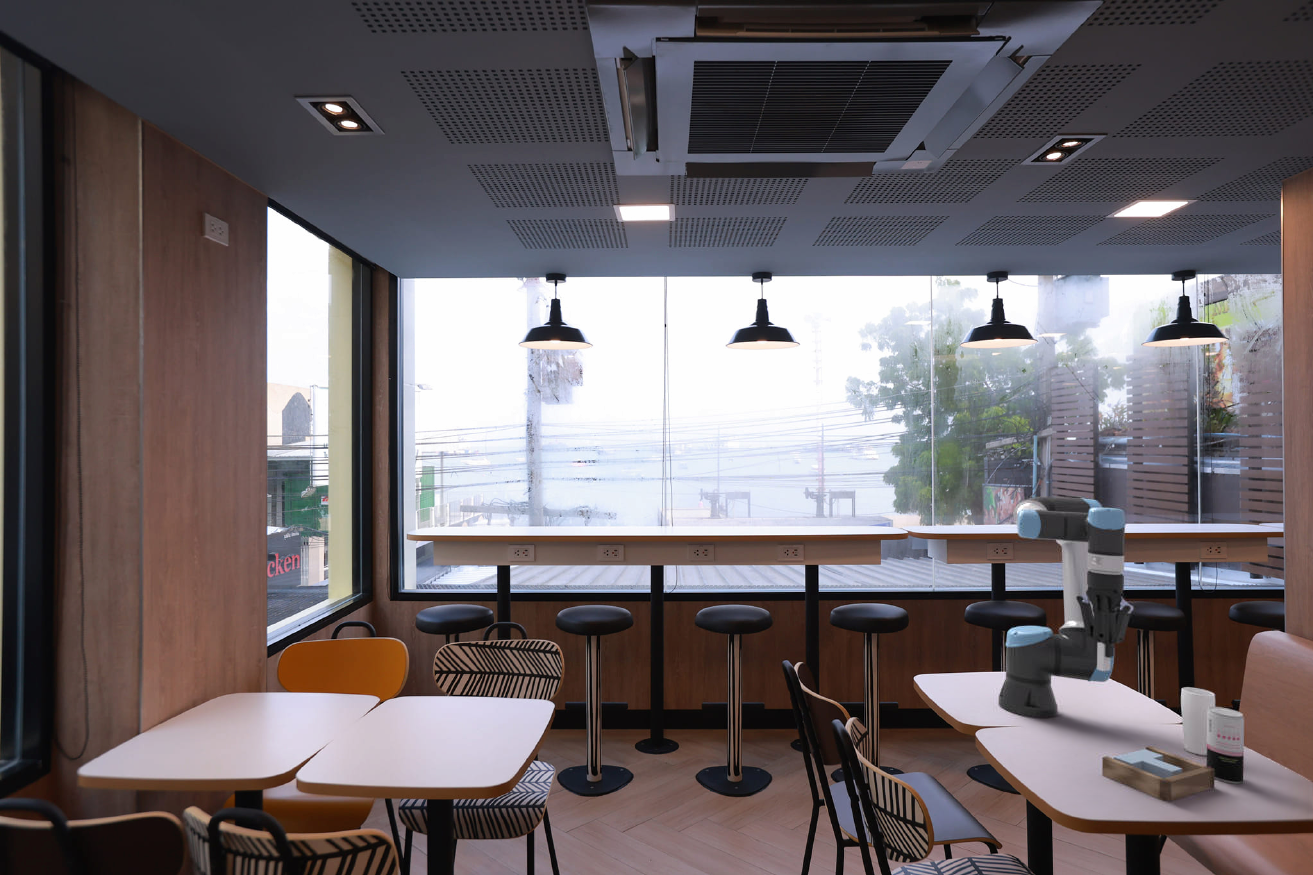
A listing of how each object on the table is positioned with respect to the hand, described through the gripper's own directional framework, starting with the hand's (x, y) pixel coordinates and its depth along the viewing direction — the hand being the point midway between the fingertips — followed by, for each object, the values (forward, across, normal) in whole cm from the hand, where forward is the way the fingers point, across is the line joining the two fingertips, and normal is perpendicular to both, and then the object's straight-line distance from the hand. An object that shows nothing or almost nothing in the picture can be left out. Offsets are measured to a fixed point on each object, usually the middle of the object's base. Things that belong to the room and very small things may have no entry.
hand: (1103, 669), depth 169 cm
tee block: (+21, +11, 0) cm, 24 cm away
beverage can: (+22, +17, +17) cm, 32 cm away
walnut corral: (+21, +12, 0) cm, 25 cm away
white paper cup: (+22, +6, +28) cm, 36 cm away
